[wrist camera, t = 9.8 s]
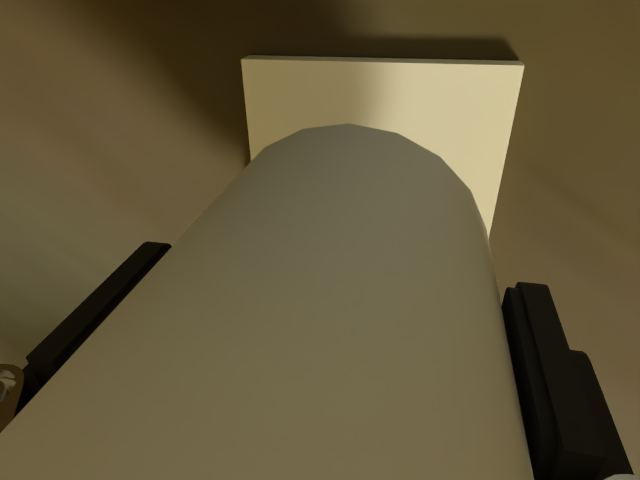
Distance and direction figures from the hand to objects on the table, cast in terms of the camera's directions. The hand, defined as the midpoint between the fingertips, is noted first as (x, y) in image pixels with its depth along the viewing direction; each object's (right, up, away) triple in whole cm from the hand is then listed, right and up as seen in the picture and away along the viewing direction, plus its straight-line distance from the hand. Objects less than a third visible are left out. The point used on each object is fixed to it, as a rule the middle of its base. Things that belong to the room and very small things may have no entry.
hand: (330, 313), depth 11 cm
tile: (+2, +4, +7) cm, 8 cm away
